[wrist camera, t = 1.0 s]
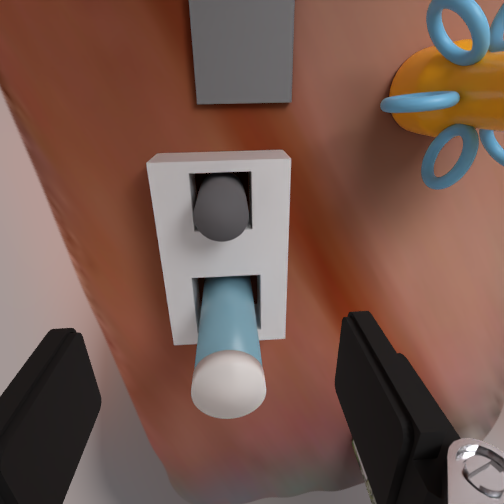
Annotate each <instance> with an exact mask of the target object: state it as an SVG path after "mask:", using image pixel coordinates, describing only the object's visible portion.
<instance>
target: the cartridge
mask: <svg viewBox="0 0 504 504" xmlns="http://www.w3.org/2000/svg"><path fill="white" fill-rule="evenodd" d="M265 395H266V384H265V376H264V370H263V367H262V360H261V352H260V345H259V337H258V330H257V322H256V315H255V307H254V300H253V292H252V285H251V277H250V275H244V276H224V277H205V280H204V289H203V298H202V307H201V316H200V324H199V333H198V342H197V351H196V360H195V368H194V372H193V379H192V387H191V397H192V400H193V403H194V404H195V406H196V407H197V408H198V409H199V410H200V411H202V412H203V413H205V414H207V415H209V416H212V417H216V418H222V419H232V418H238V417H242V416H245V415H247V414H249V413H251V412H253V411H254V410H256V409H257V408H258V407H259V406H260V405H261V404H262V402H263V401H264V398H265Z"/></svg>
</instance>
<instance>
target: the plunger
mask: <svg viewBox="0 0 504 504" xmlns="http://www.w3.org/2000/svg"><path fill="white" fill-rule="evenodd" d="M193 217H194V222H195V225H196V227H197V229H198V230H199V232H200V233H201V234H202V235H204V236H205V237H206V238H208V239H210V240H213V241H218V242H225V241H230V240H233V239H235V238H237V237H238V236H240V235H241V234H242V233H243V232H244V230H245V229H246V227H247V224H248V221H249V211H248V205H247V200H246V194H245V189H244V186H243V183H242V182H241V180H240V179H239V178H238V177H237V176H236V175H234V174H233V173H230V172H217V173H211V174H209V175H208V176H207V177H206V178H205V179H204V180H203V182H202V184H201V186H200V190H199V193H198V197H197V201H196V204H195V208H194V213H193Z"/></svg>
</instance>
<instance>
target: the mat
mask: <svg viewBox="0 0 504 504" xmlns="http://www.w3.org/2000/svg"><path fill="white" fill-rule="evenodd" d="M294 6H295V0H189V10H190V22H191V35H192V47H193V59H194V72H195V84H196V96H197V104H235V103H284V102H291V101H292V69H293V38H294Z"/></svg>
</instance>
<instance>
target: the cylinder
mask: <svg viewBox="0 0 504 504" xmlns="http://www.w3.org/2000/svg"><path fill="white" fill-rule="evenodd" d="M445 8H446V9H450V10H452V11H454V12H456V13H457V14H458V15H459V16H460V17H461V18H462V19H463V20H464V22H465V23H466V25H467V26H468V28H469V30H470V33H471V36H472V39H465V40H459V41H454V42H452V41H451V39H450V38H449V37H448V35H447V33H446V31H445V29H444V27H443V23H442V10H443V9H445ZM426 22H427V28H428V32H429V35H430V38H431V40H432V42H433V44H434V45H435V46H432V47H428V48H425V49H422V50H420V51H418V52H416V53H415V54H413V55H412V56H411V57H409V58H408V59H407V60H406V61H405V62H404V63H403V64H402V66H401V67H400V68H399V70H398V71H397V73H396V75H395V77H394V79H393V81H392V85H391V88H390V94H389V97H387V98H385V99H383V100H382V102H381V104H380V108H381V110H382V111H384V112H388V113H392V116H393V118H394V119H395V121H396V122H397V123H398V125H400V126H401V127H402V128H403V129H405V130H407V131H410V132H413V133H418V134H422V135H427V136H432V137H436V138H435V139H434V140H433V141H432V143H431V144H430V146H429V147H428V149H427V151H426V153H425V156H424V158H423V162H422V167H421V176H422V179H423V182H424V183H425V184H426V185H427V186H428V187H429V188H432V189H444V188H447V187H449V186H451V185H453V184H454V183H456V182H457V181H458V180H460V179H461V178H462V177H463V176H464V175H465V173H466V172H467V171H468V169H469V168H470V166H471V165H472V163H473V161H474V159H475V157H476V154H477V150H478V145H479V139H478V134H477V131H476V130H475V129H476V128H478V129H480V130H479V135H480V139H481V142H482V144H483V146H484V148H485V149H486V151H487V152H488V153H489V154H490V156H491V157H492V158H493V159H494V160H496V161H497V162H498V163H499V164H501V165H502V166H504V149H503V148H502V147H501V146H500V145H499V143H498V142H497V140H496V139H495V136H494V133H493V131H501V132H504V41H503V32H504V4H503V5H502V6H501V8H500V9H499V11H498V13H497V14H496V16H495V18H494V20H493V22H492V24H491V27H490V28H489V24H488V21H487V18H486V16H485V14H484V12H483V11H482V9H481V8H480V6H479V5H478V4H477V3H476V2H475V1H474V0H432V1H431V3H430V5H429V7H428V10H427V16H426ZM459 136H461V137H462V139H463V149H462V153H461V155H460V157H459V159H458V161H457V163H456V164H455V166H454V167H453V168H452V169H451V170H450V171H449V172H448V173H447V174H446V175H444V176H442V177H436V176H435V175H434V163H435V160H436V158H437V155H438V154H439V152H440V150H441V149H442V147H443V146H444V145H445V144H446V143H447V142H448V141H449V140H450V139H452V138H455V137H459Z"/></svg>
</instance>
